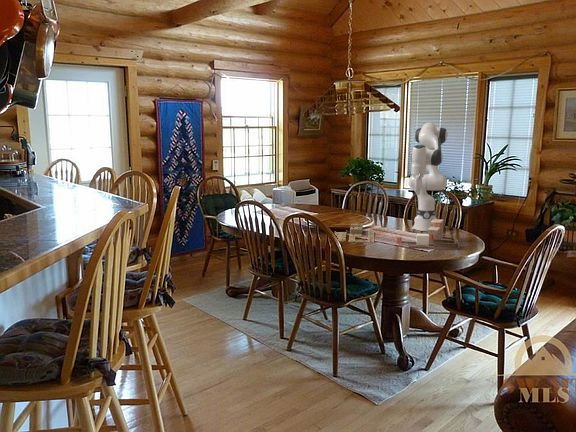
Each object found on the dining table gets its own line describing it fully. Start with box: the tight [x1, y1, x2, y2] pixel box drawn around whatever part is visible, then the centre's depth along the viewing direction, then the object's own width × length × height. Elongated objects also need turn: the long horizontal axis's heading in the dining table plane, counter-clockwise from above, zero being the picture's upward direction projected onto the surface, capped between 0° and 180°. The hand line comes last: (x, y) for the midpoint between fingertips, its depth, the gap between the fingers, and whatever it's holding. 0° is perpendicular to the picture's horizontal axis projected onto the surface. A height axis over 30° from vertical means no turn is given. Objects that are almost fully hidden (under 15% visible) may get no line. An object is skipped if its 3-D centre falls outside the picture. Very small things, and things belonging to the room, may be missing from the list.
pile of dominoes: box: [334, 223, 375, 244], centre depth 333 cm, size 35×27×6 cm
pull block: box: [396, 233, 429, 246], centre depth 305 cm, size 6×19×6 cm, turn 78°
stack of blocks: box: [427, 218, 445, 243], centre depth 318 cm, size 21×6×12 cm, turn 154°
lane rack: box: [407, 237, 459, 251], centre depth 303 cm, size 12×28×5 cm, turn 78°
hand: (417, 193), depth 311 cm, fingers open, 8 cm apart
